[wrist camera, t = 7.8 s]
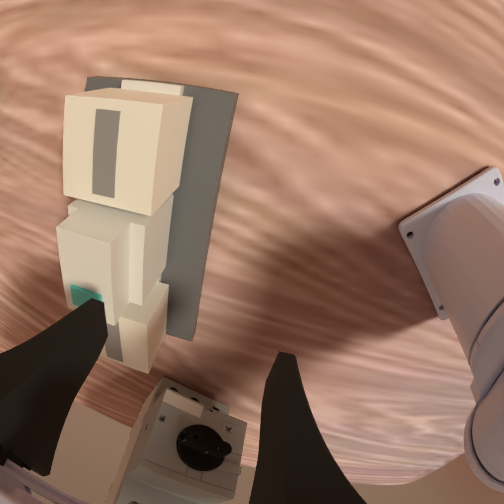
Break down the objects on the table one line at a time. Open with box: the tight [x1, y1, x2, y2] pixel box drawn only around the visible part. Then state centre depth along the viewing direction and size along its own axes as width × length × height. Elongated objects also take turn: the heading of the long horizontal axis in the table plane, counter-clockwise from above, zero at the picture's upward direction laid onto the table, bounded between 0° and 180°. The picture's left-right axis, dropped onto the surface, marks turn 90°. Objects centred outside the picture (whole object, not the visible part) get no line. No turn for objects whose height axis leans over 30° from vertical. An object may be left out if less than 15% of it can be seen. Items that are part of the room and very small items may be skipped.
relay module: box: [56, 194, 174, 326], centre depth 16 cm, size 5×4×6 cm
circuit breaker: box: [105, 376, 247, 504], centre depth 24 cm, size 8×14×15 cm, turn 149°
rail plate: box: [63, 76, 239, 374], centre depth 18 cm, size 18×9×6 cm, turn 168°
